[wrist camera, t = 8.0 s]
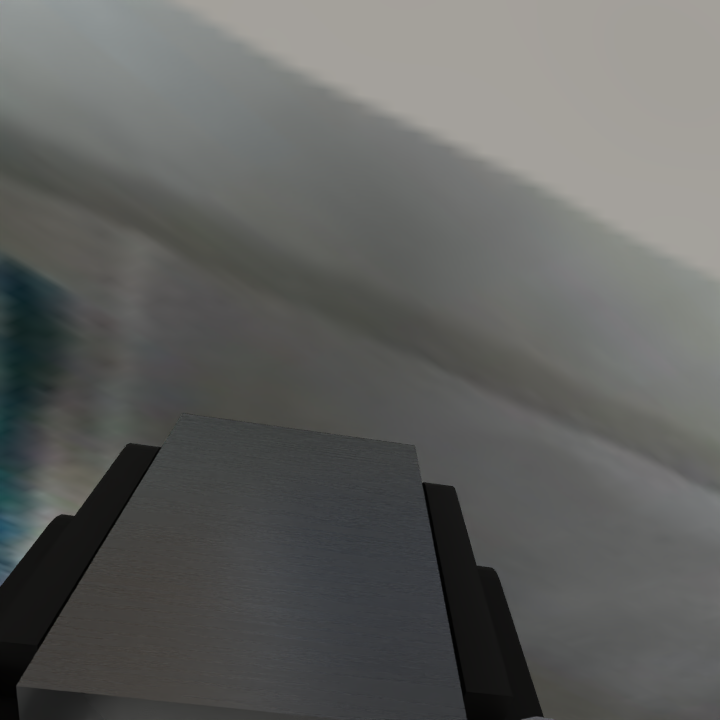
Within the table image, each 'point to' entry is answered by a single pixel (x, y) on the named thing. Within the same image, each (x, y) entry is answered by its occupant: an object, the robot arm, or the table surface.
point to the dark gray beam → (257, 589)
